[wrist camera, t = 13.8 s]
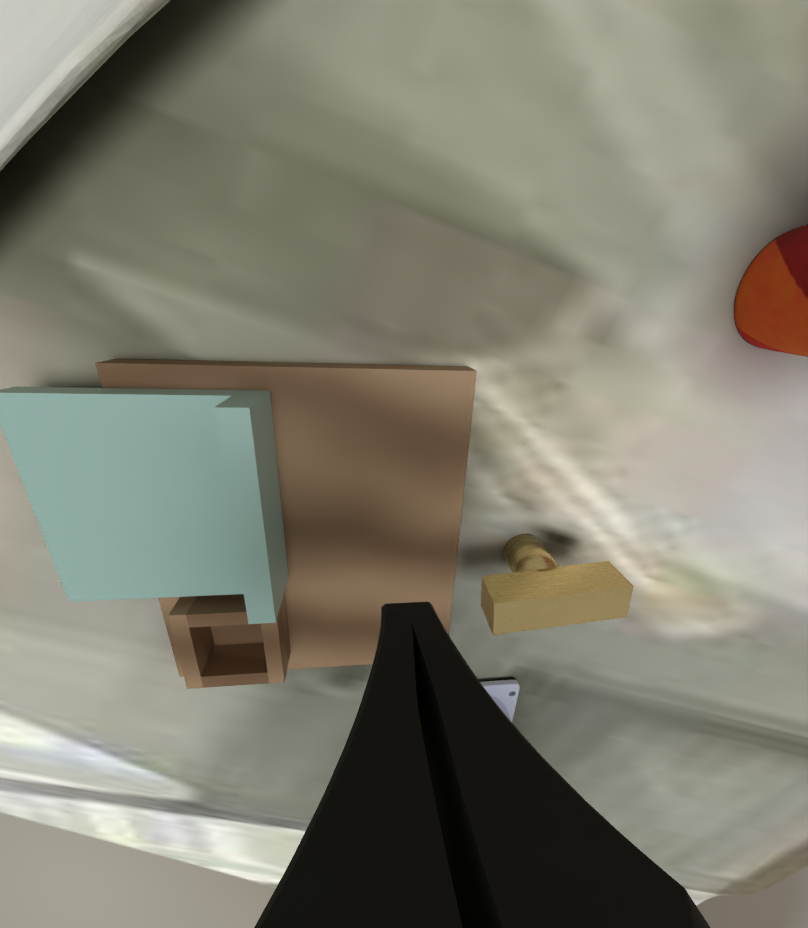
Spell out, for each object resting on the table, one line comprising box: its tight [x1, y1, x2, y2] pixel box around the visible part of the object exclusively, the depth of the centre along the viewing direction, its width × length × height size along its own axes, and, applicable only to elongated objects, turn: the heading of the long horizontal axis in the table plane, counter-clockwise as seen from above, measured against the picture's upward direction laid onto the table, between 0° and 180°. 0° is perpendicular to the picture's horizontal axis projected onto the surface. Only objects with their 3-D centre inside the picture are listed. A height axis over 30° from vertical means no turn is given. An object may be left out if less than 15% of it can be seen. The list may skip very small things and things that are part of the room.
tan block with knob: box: [481, 534, 633, 635], centre depth 21 cm, size 7×2×5 cm, turn 94°
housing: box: [95, 359, 477, 689], centre depth 19 cm, size 18×16×4 cm
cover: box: [0, 387, 288, 624], centre depth 16 cm, size 10×10×3 cm
